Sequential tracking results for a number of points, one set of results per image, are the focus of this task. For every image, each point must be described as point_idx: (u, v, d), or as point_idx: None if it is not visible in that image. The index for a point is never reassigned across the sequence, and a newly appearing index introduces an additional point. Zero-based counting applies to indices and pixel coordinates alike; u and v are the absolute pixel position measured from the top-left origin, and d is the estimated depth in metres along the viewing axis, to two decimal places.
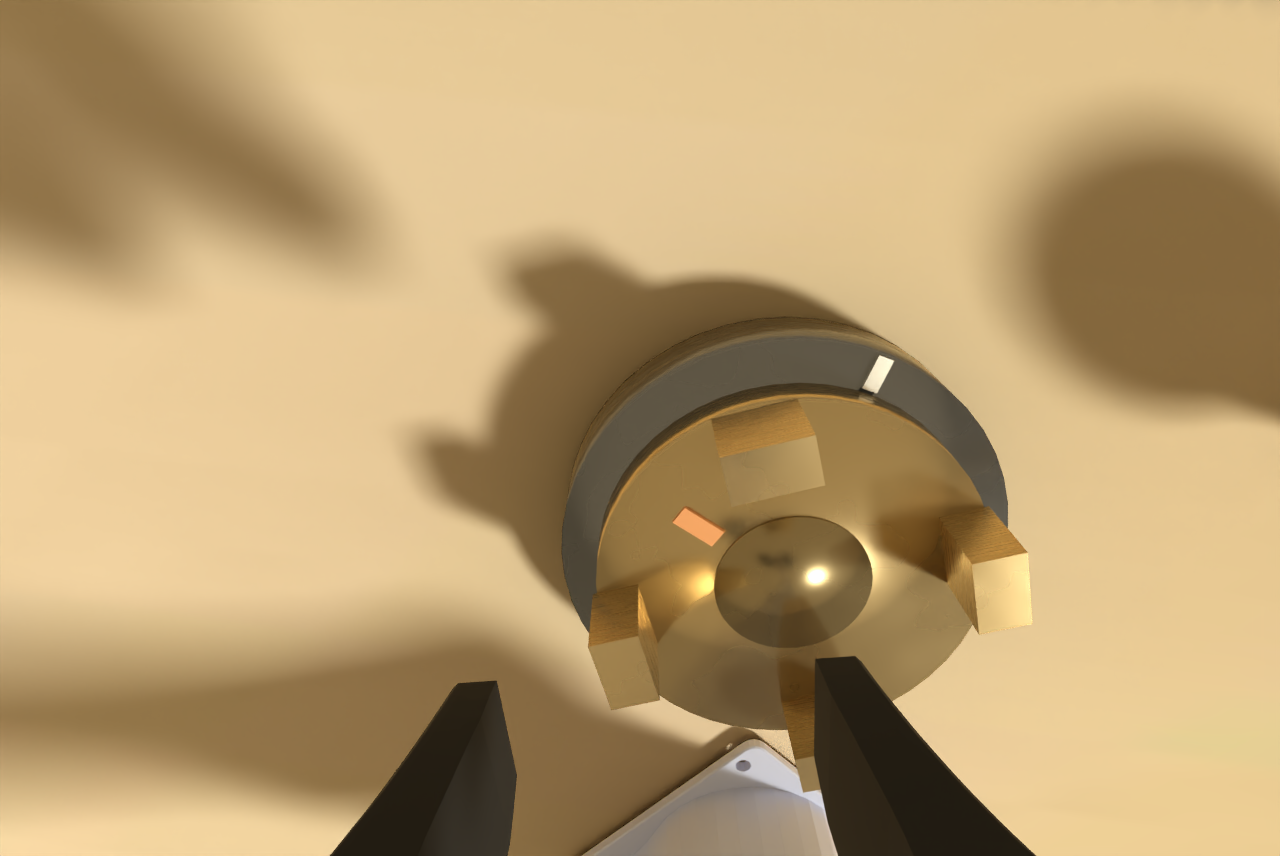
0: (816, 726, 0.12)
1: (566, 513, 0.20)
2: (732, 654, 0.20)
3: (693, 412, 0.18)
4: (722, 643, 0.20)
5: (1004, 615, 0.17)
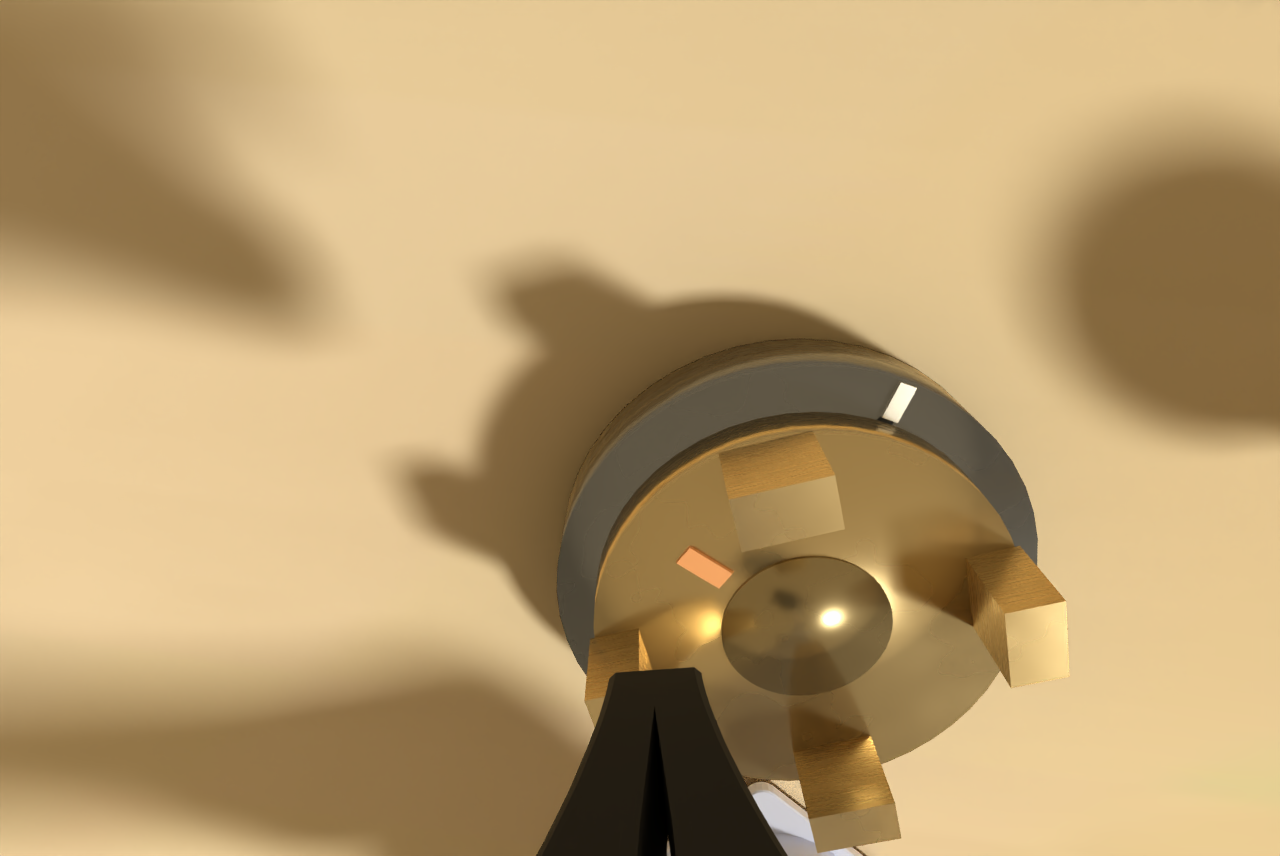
0: None
1: (561, 550, 0.19)
2: (740, 701, 0.19)
3: (699, 443, 0.17)
4: (729, 690, 0.19)
5: (1038, 667, 0.16)
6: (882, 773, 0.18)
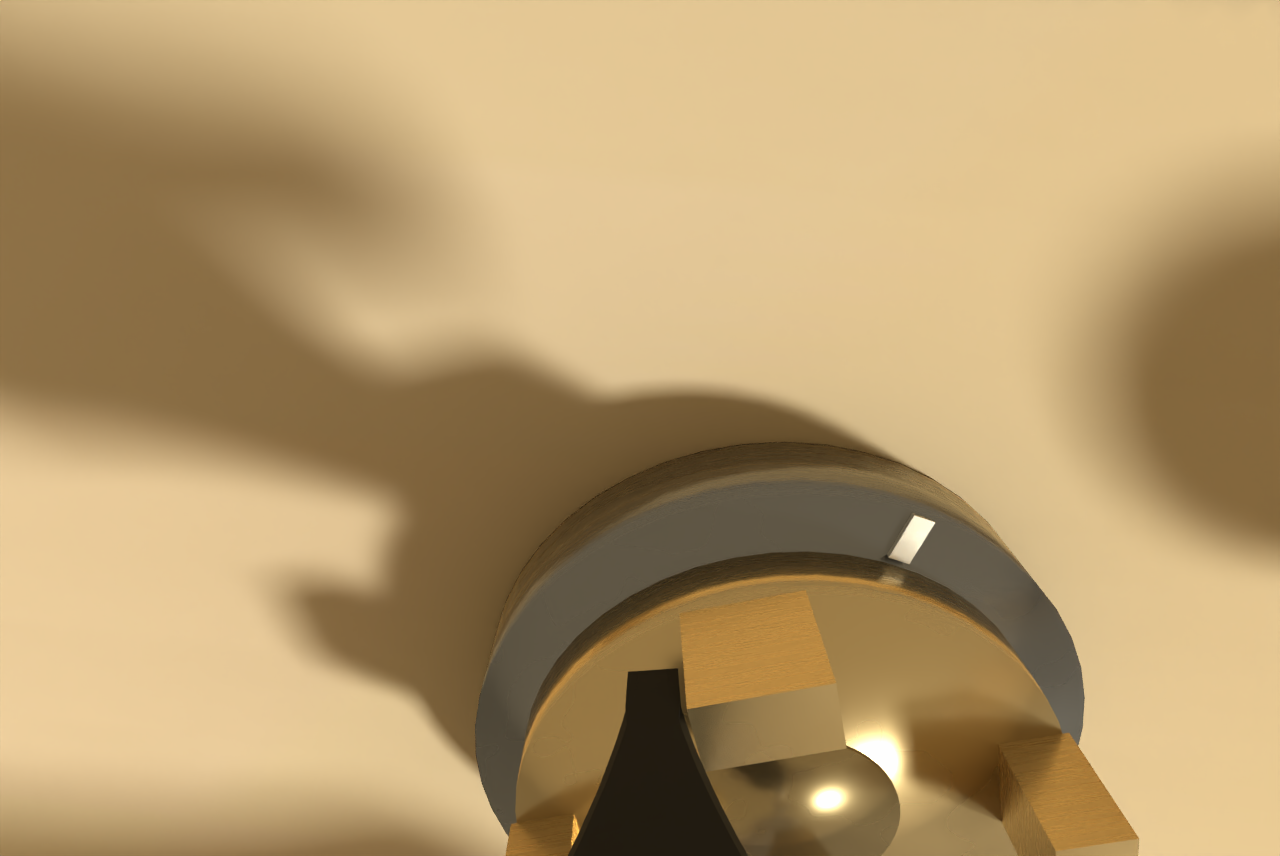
0: None
1: (479, 708, 0.15)
2: None
3: (657, 587, 0.13)
4: None
5: None
6: None
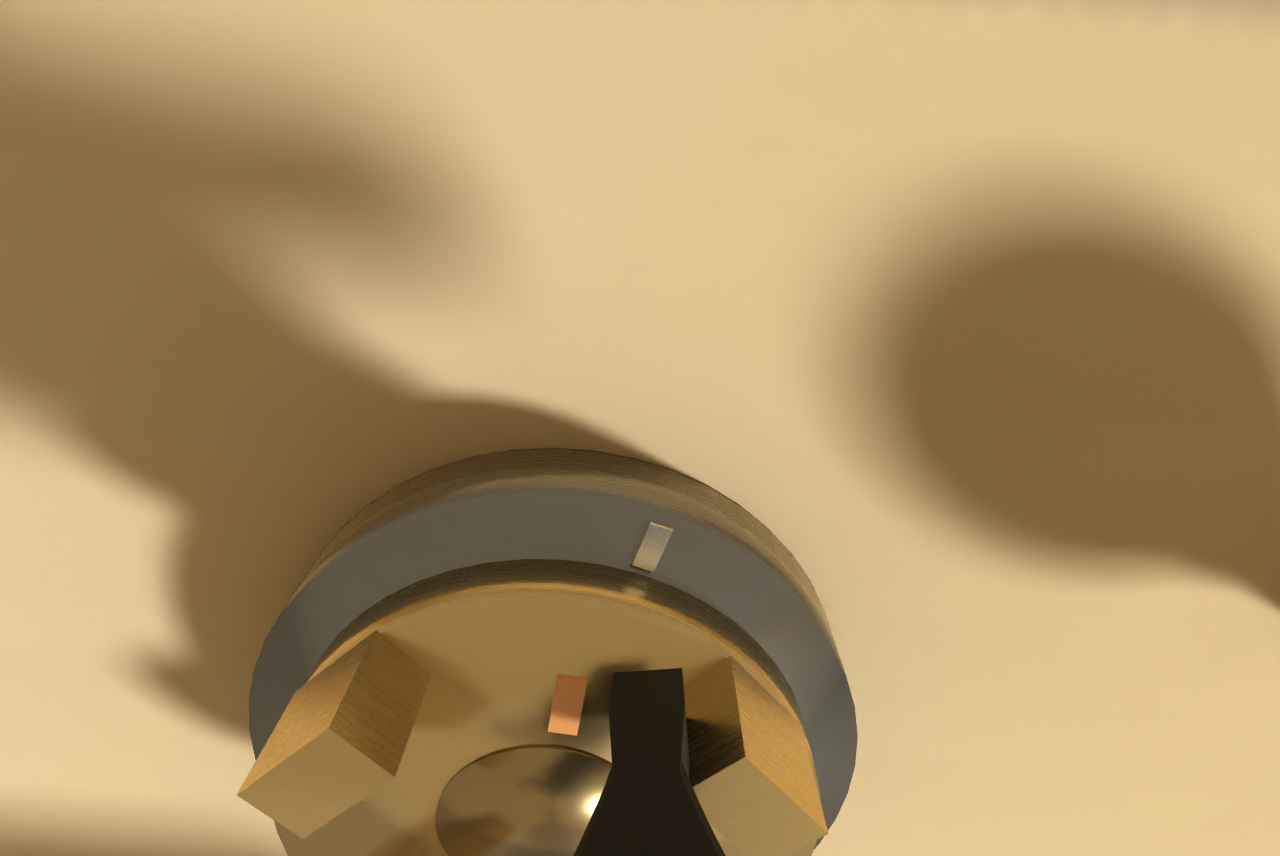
0: None
1: (251, 712, 0.15)
2: (397, 811, 0.14)
3: (702, 606, 0.13)
4: (406, 795, 0.14)
5: None
6: None
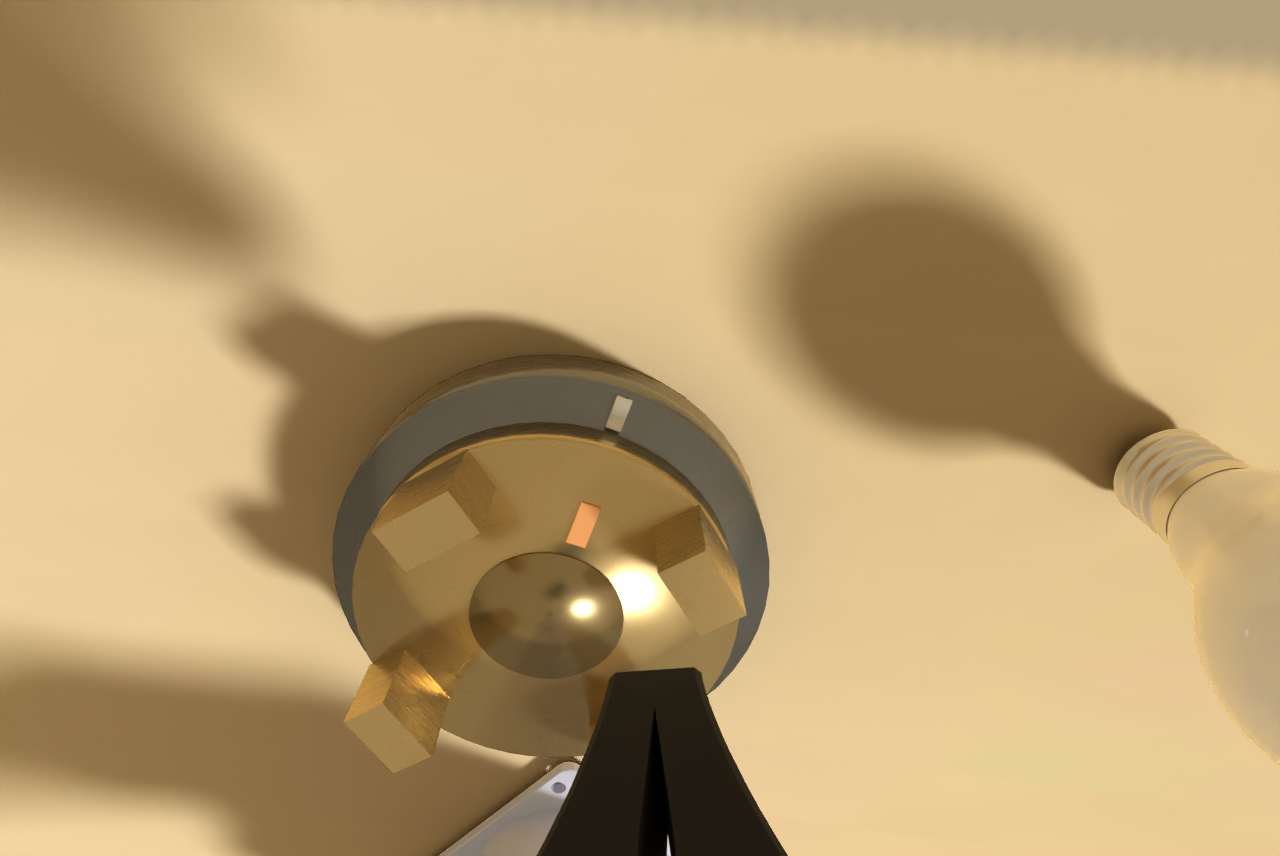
0: None
1: (334, 546, 0.20)
2: (444, 592, 0.19)
3: (682, 476, 0.19)
4: (454, 580, 0.19)
5: None
6: (438, 729, 0.20)
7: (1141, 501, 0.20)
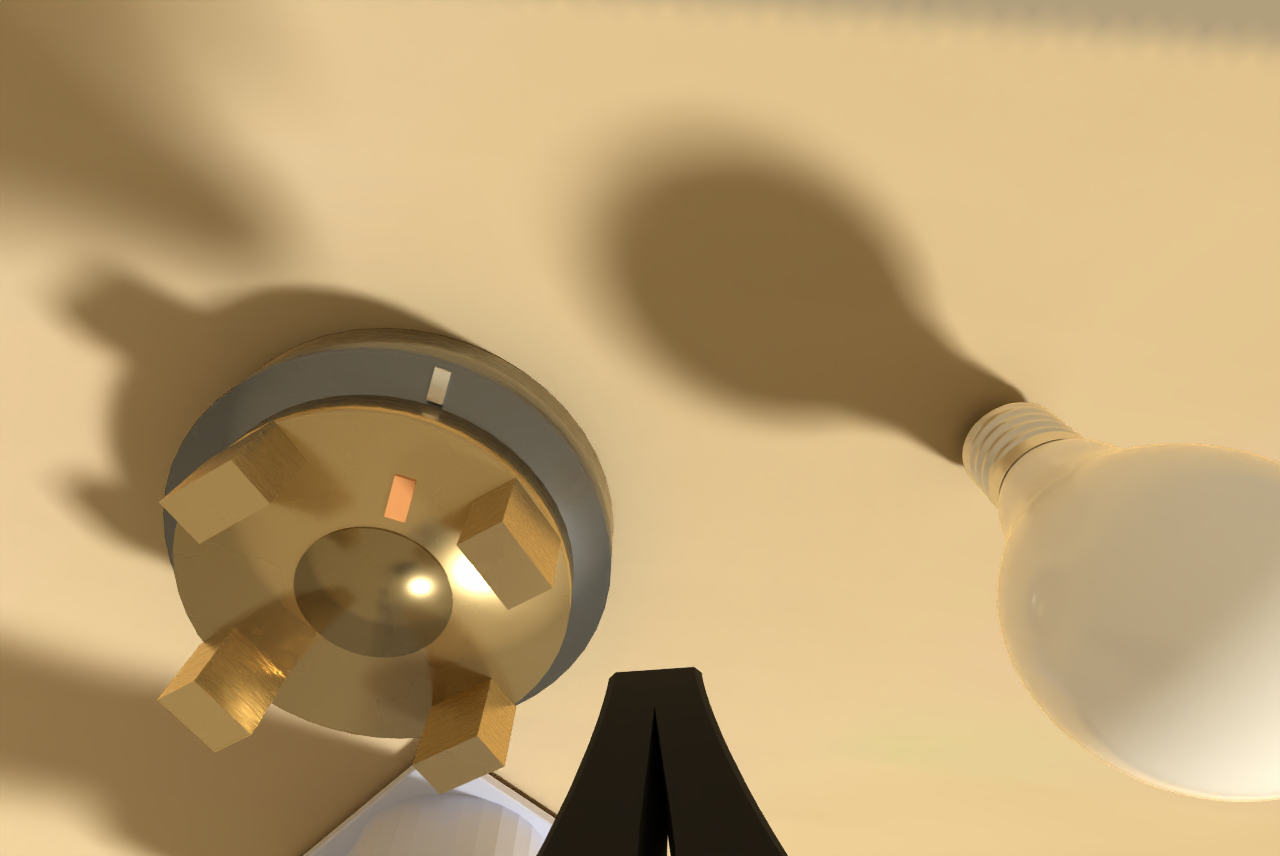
0: None
1: (165, 523, 0.20)
2: (267, 568, 0.19)
3: (507, 449, 0.19)
4: (276, 555, 0.19)
5: (439, 773, 0.19)
6: (265, 708, 0.19)
7: (982, 475, 0.20)
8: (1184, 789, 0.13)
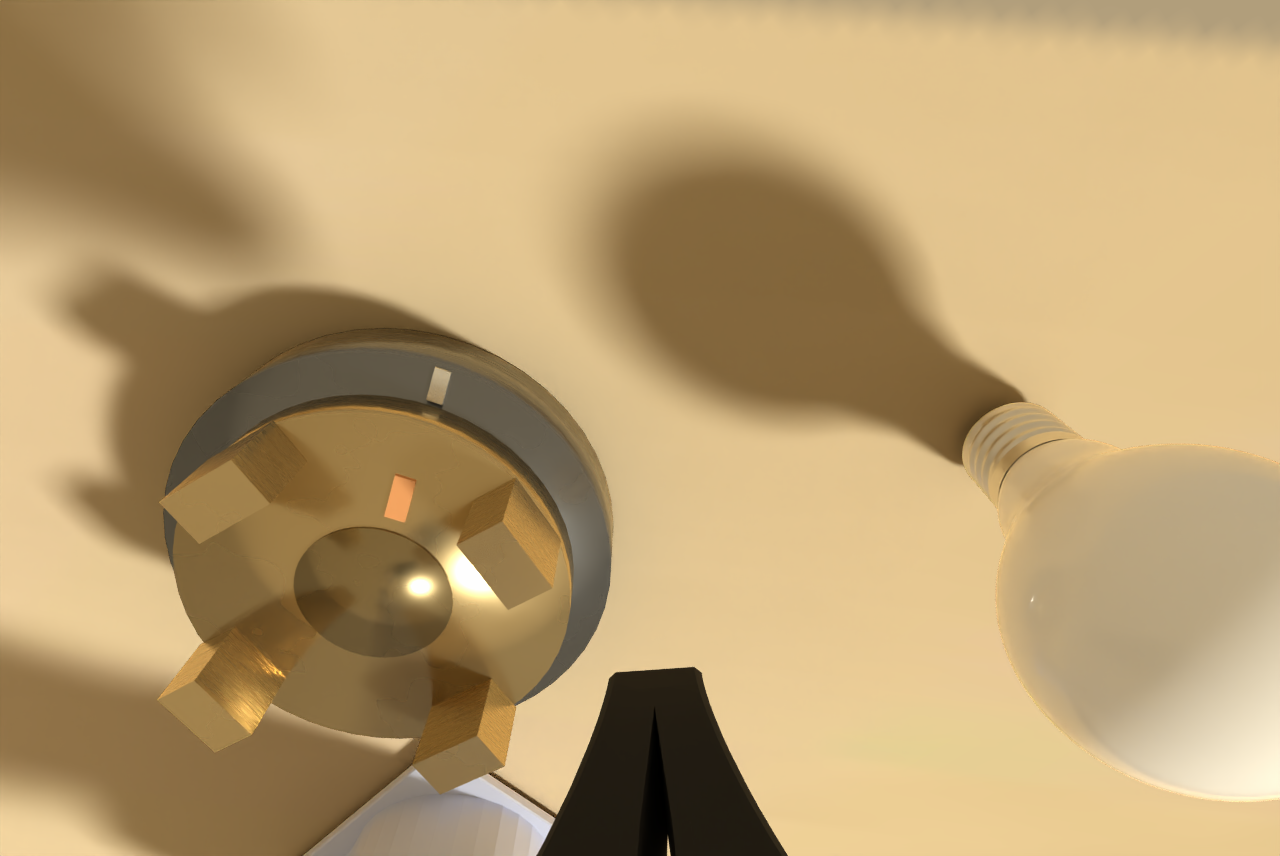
0: None
1: (165, 523, 0.20)
2: (267, 568, 0.19)
3: (507, 449, 0.19)
4: (276, 555, 0.19)
5: (439, 773, 0.19)
6: (265, 708, 0.19)
7: (982, 475, 0.20)
8: (1182, 789, 0.13)
